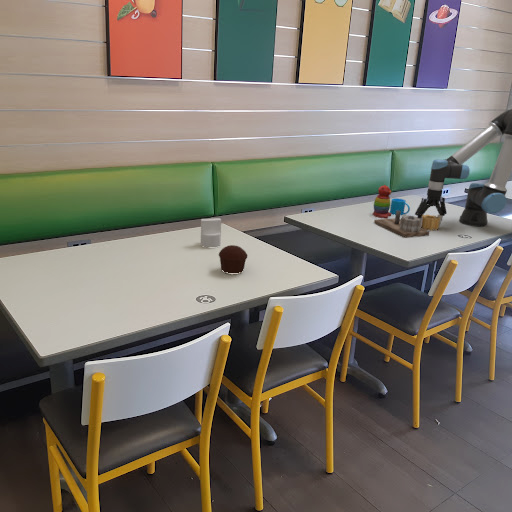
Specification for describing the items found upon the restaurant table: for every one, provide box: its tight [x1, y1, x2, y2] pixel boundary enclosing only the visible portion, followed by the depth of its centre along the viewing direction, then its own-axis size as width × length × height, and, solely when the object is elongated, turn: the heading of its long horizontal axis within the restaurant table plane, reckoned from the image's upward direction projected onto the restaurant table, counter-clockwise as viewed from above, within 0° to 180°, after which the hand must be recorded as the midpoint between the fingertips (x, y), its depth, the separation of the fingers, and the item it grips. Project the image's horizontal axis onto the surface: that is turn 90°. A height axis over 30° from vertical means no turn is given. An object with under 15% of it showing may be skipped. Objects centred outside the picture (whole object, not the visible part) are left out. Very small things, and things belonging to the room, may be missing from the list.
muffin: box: [218, 244, 248, 273], centre depth 202 cm, size 12×11×10 cm
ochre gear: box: [421, 214, 440, 231], centre depth 277 cm, size 10×10×6 cm
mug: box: [389, 198, 411, 216], centre depth 302 cm, size 12×8×8 cm
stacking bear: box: [372, 184, 393, 219], centre depth 294 cm, size 11×10×18 cm
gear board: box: [373, 211, 430, 238], centre depth 271 cm, size 16×26×9 cm, turn 22°
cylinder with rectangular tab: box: [200, 217, 222, 248], centre depth 229 cm, size 9×9×12 cm
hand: (428, 227), depth 278 cm, fingers open, 12 cm apart
